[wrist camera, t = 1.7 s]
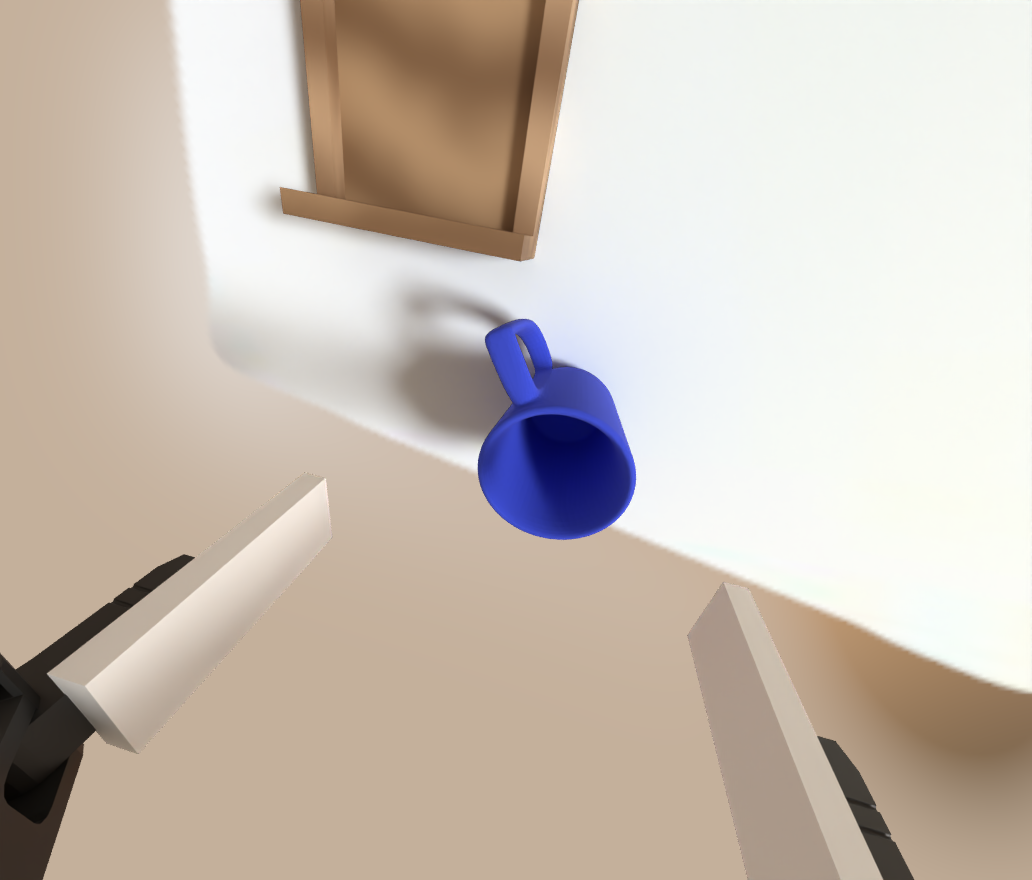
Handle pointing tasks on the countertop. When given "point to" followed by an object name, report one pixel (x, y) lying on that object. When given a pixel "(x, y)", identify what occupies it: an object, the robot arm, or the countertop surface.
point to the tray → (435, 117)
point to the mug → (553, 444)
